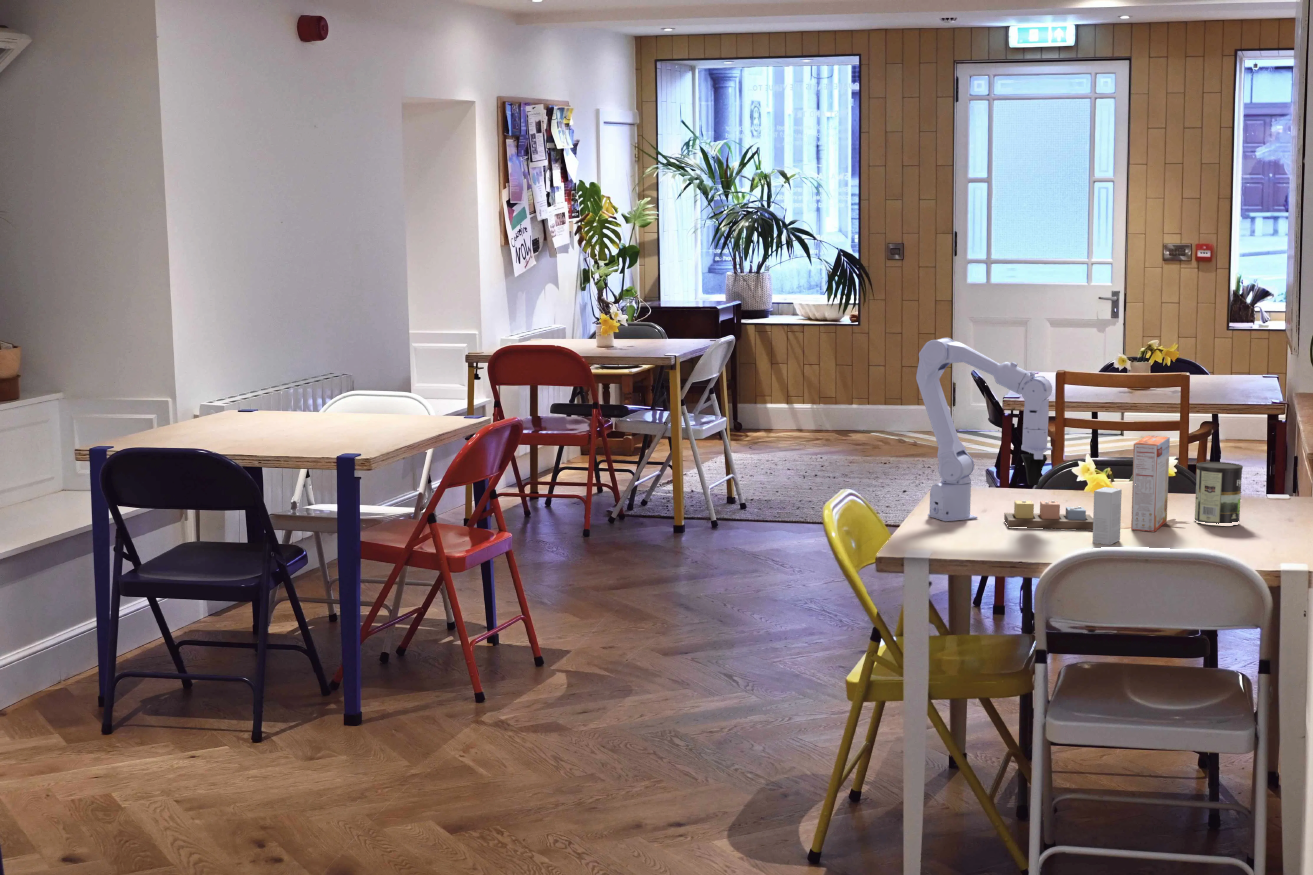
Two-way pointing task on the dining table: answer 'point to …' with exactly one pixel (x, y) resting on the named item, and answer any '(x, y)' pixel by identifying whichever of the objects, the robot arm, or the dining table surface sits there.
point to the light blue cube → (1075, 513)
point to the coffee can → (1218, 492)
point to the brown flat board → (1048, 522)
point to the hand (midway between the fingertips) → (1032, 484)
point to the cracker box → (1150, 483)
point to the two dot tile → (1049, 509)
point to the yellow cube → (1023, 509)
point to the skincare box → (1107, 515)
